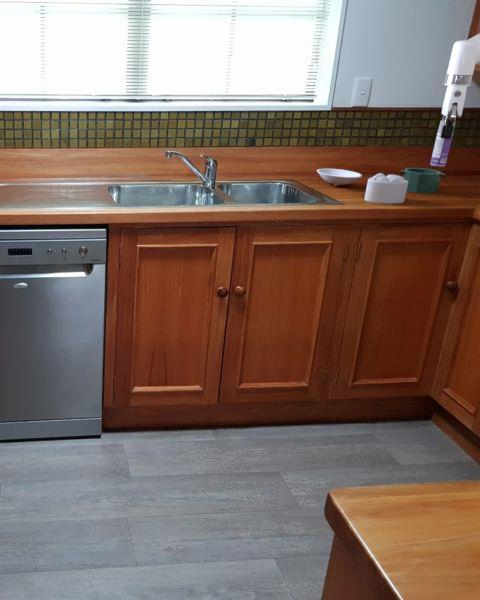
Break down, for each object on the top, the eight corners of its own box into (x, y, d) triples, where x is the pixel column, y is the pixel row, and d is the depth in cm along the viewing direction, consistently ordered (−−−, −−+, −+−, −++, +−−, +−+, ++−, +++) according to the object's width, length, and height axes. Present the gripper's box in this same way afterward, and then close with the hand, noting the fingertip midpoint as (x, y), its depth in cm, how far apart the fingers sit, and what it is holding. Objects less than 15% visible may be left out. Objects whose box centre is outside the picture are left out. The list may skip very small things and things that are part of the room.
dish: (368, 188, 231) (371, 175, 229) (341, 191, 225) (344, 178, 223) (332, 179, 246) (334, 167, 244) (305, 182, 240) (308, 170, 238)
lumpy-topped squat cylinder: (408, 202, 211) (414, 177, 208) (376, 204, 208) (382, 179, 205) (387, 195, 221) (392, 171, 217) (356, 197, 217) (361, 173, 214)
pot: (438, 188, 233) (442, 169, 230) (443, 195, 223) (448, 175, 220) (395, 185, 238) (399, 166, 235) (398, 191, 228) (402, 172, 225)
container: (443, 164, 213) (454, 120, 207) (446, 166, 209) (457, 121, 203) (428, 163, 215) (439, 119, 209) (431, 165, 210) (441, 121, 205)
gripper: (476, 82, 192) (461, 141, 200) (466, 80, 207) (452, 134, 214) (449, 81, 195) (435, 139, 202) (441, 79, 210) (429, 133, 217)
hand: (444, 136), depth 208 cm, fingers closed on container, 4 cm apart
